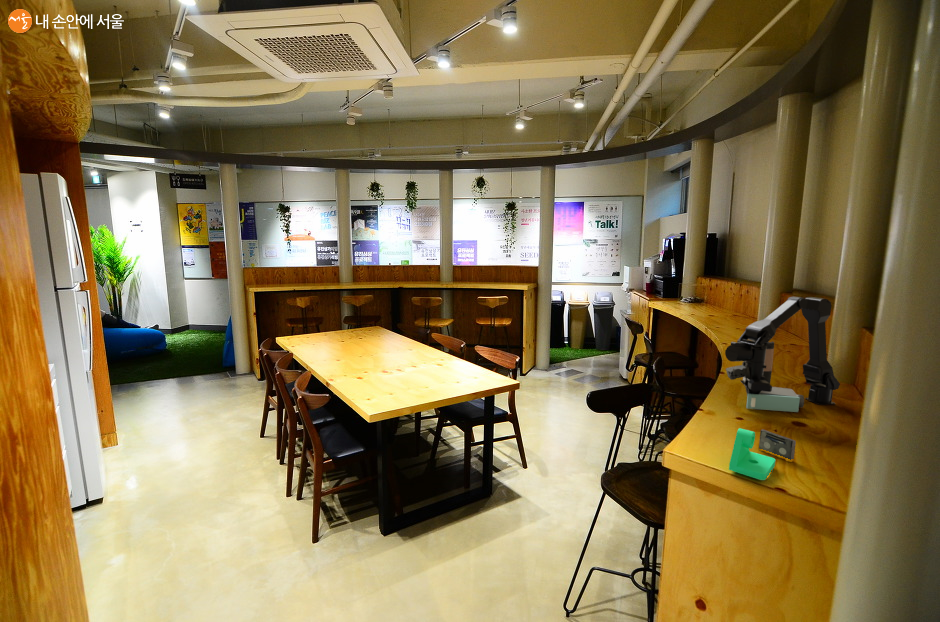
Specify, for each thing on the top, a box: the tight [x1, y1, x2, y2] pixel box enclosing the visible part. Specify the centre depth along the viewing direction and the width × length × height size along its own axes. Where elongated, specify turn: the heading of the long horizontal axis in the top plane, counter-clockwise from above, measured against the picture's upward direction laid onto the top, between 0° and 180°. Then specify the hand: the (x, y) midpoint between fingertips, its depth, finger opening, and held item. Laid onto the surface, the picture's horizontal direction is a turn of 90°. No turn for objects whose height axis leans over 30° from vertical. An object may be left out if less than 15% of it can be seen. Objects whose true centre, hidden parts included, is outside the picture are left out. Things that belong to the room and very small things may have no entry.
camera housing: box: [759, 386, 805, 408], centre depth 159 cm, size 14×10×6 cm
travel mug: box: [754, 341, 775, 385], centre depth 177 cm, size 8×8×20 cm
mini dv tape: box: [758, 429, 796, 460], centre depth 120 cm, size 8×2×6 cm, turn 26°
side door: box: [745, 394, 800, 413], centre depth 153 cm, size 16×2×5 cm, turn 78°
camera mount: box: [728, 427, 776, 481], centre depth 111 cm, size 12×8×10 cm, turn 134°
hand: (750, 402), depth 158 cm, fingers closed
